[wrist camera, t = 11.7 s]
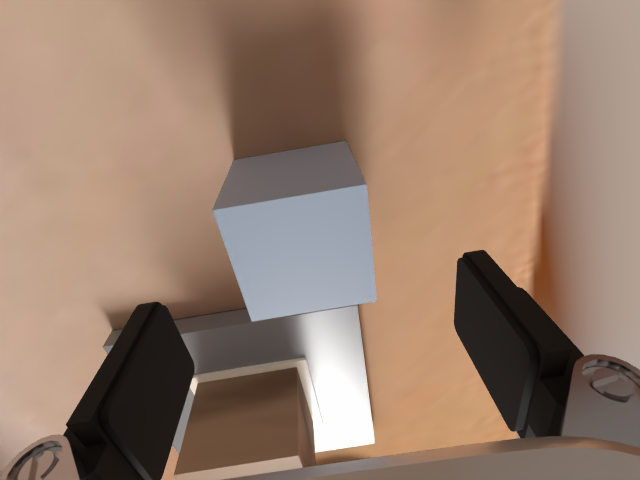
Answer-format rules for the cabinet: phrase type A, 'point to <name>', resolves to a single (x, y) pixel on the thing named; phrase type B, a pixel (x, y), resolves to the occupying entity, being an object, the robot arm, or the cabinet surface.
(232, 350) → the building board
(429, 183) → the cabinet surface
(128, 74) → the cabinet surface
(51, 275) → the cabinet surface
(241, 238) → the slate blue cube
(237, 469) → the walnut block
